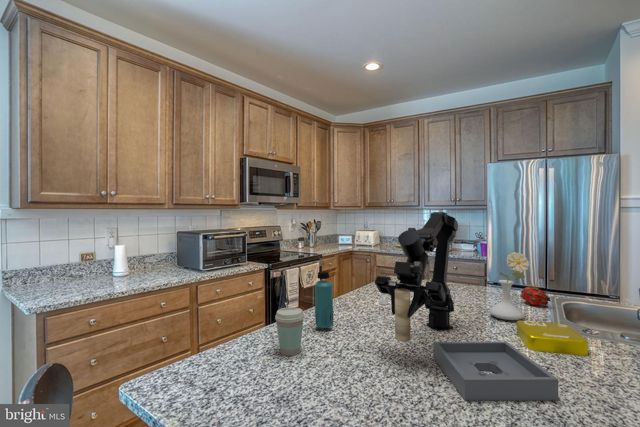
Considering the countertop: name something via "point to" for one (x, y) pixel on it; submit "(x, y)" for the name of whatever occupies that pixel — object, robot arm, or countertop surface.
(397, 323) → the birch peg
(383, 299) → the white ring with post
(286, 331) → the coffee cup
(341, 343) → the countertop surface
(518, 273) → the flower in vase
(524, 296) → the dragon fruit
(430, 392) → the countertop surface
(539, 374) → the charcoal box
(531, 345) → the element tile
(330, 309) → the beverage bottle
